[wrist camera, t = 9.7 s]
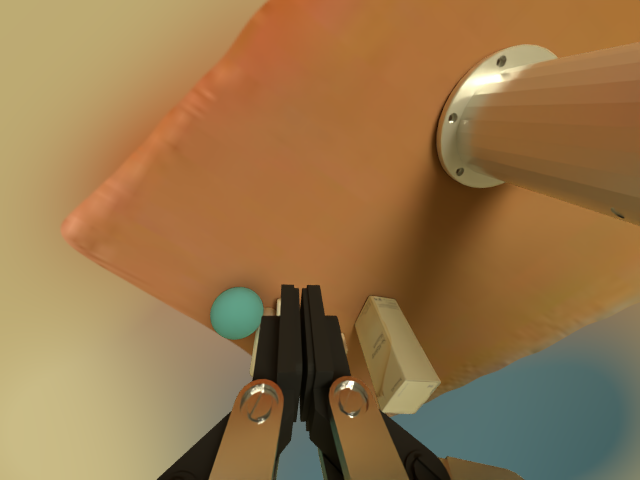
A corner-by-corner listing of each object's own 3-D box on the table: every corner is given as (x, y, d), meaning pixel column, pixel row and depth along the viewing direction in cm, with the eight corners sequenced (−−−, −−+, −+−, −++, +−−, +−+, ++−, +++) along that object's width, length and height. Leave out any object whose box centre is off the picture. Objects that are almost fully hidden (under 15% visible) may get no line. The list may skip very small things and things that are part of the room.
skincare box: (368, 293, 34) (405, 378, 23) (396, 298, 35) (443, 381, 24) (353, 325, 36) (379, 414, 26) (379, 329, 37) (415, 416, 27)
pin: (276, 307, 33) (272, 364, 25) (276, 320, 34) (272, 378, 27) (258, 307, 33) (249, 365, 25) (258, 320, 34) (249, 379, 26)
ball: (276, 314, 32) (267, 326, 26) (237, 340, 31) (219, 358, 25) (252, 276, 32) (238, 278, 26) (213, 301, 32) (190, 309, 26)
